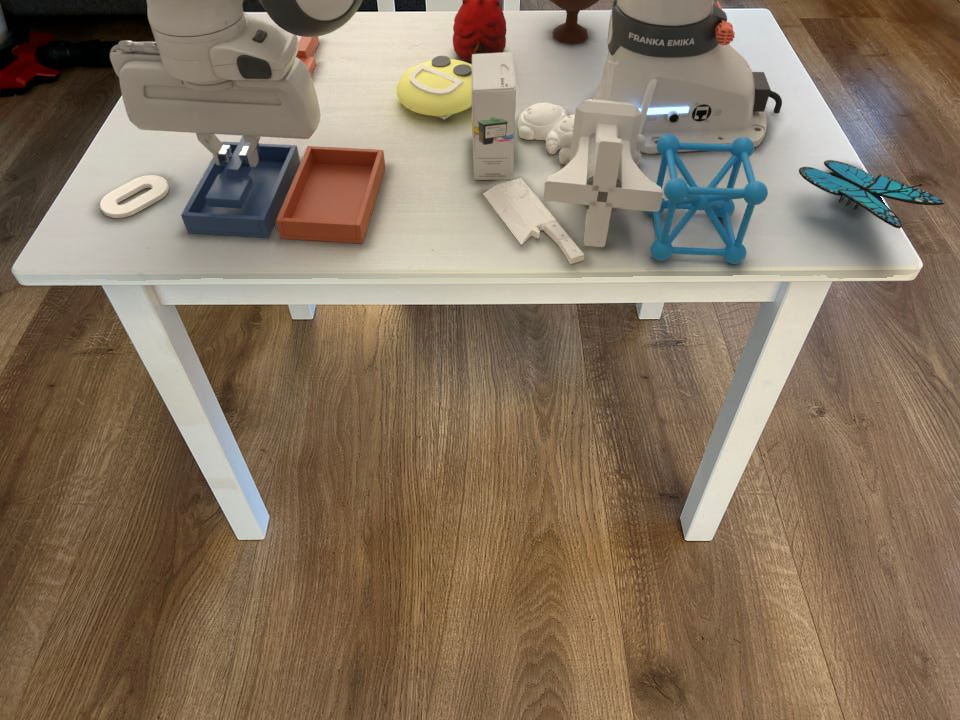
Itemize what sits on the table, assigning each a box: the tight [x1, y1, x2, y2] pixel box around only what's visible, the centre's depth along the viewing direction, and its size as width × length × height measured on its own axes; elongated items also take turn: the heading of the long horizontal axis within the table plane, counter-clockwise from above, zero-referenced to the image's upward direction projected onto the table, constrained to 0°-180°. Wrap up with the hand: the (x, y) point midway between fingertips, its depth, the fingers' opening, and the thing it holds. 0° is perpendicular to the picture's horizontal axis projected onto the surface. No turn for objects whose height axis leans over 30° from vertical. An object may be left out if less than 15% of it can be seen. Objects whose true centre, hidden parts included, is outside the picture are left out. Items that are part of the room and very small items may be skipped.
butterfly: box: [798, 159, 946, 229], centre depth 84 cm, size 19×13×5 cm
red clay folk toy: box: [452, 0, 507, 65], centre depth 104 cm, size 8×7×15 cm
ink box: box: [471, 51, 517, 181], centre depth 88 cm, size 8×5×12 cm, turn 1°
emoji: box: [395, 55, 472, 121], centre depth 100 cm, size 4×12×12 cm
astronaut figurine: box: [517, 102, 575, 155], centre depth 95 cm, size 9×12×3 cm
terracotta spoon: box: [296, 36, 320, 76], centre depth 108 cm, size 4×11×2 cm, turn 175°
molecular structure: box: [645, 134, 769, 265], centre depth 79 cm, size 10×10×10 cm
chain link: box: [99, 174, 170, 219], centre depth 88 cm, size 8×1×5 cm
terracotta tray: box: [275, 145, 386, 244], centre depth 87 cm, size 9×14×2 cm, turn 175°
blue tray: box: [180, 141, 301, 239], centre depth 87 cm, size 9×14×2 cm, turn 175°
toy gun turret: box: [542, 60, 664, 248], centre depth 83 cm, size 12×13×18 cm
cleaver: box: [482, 177, 585, 265], centre depth 84 cm, size 5×15×1 cm, turn 24°
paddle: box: [205, 136, 261, 209], centre depth 85 cm, size 4×11×2 cm, turn 174°
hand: (238, 163), depth 85 cm, fingers closed on paddle, 1 cm apart
